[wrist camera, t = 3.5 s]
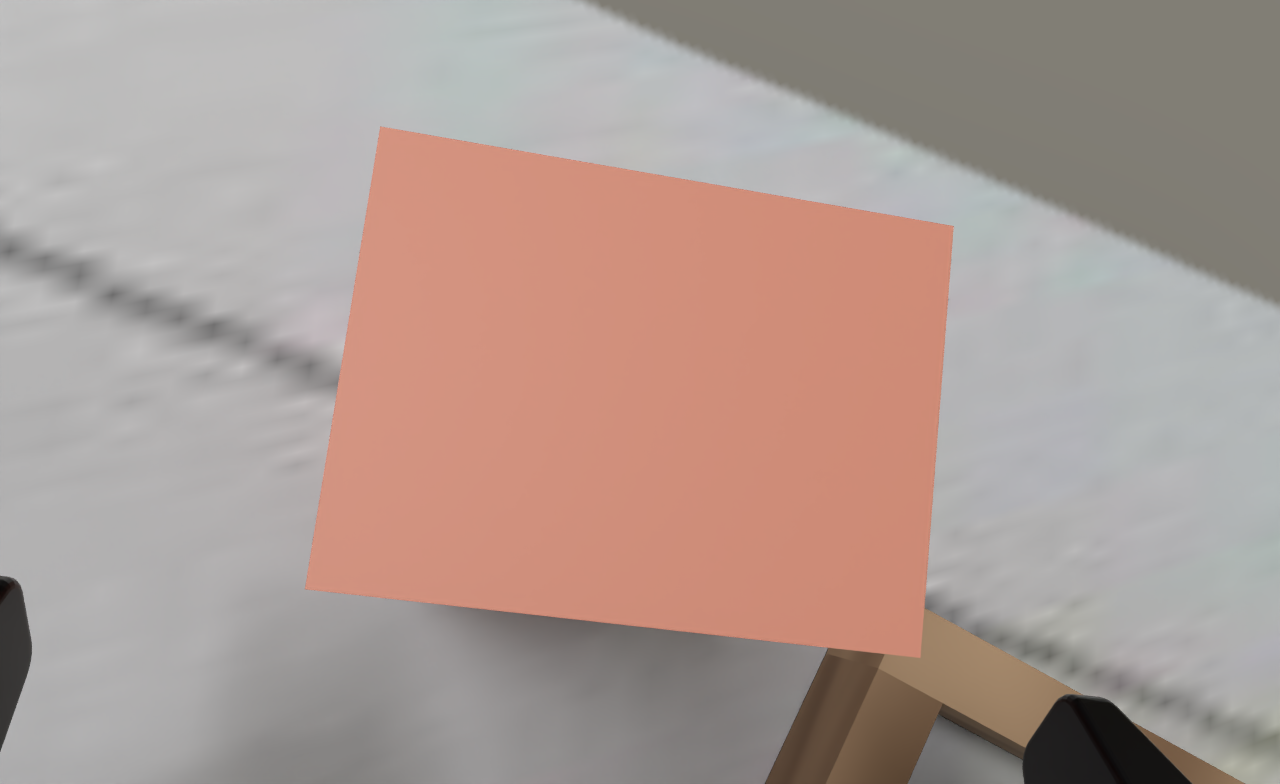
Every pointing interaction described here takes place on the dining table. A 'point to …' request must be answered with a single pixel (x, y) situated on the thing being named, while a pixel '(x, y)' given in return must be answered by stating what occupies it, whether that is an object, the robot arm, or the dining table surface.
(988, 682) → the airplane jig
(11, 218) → the dining table surface
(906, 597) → the salmon pink box
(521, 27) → the dining table surface
